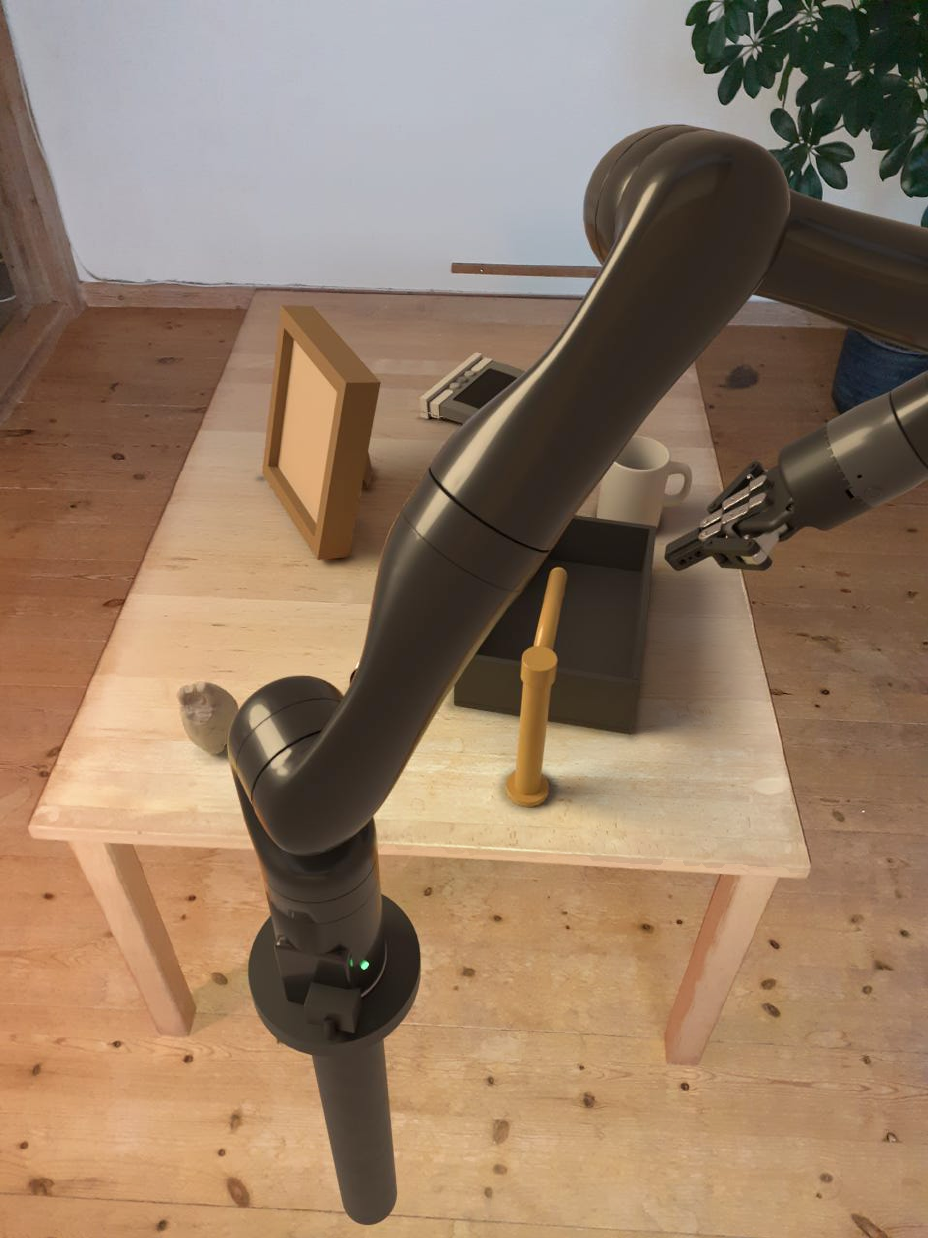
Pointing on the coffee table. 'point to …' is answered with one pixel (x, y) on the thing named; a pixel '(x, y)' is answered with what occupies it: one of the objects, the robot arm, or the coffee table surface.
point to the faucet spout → (545, 636)
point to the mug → (641, 483)
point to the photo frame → (319, 430)
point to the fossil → (207, 715)
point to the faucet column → (530, 750)
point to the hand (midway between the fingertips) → (670, 559)
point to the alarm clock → (468, 388)
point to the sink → (576, 630)
